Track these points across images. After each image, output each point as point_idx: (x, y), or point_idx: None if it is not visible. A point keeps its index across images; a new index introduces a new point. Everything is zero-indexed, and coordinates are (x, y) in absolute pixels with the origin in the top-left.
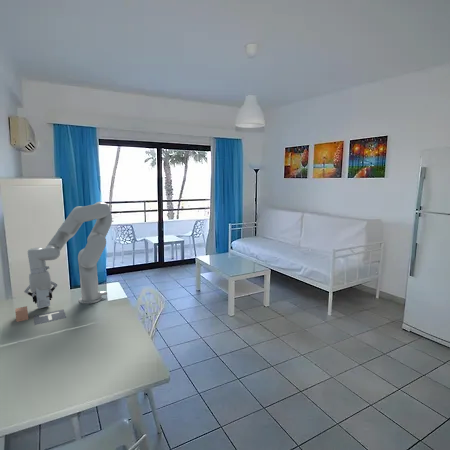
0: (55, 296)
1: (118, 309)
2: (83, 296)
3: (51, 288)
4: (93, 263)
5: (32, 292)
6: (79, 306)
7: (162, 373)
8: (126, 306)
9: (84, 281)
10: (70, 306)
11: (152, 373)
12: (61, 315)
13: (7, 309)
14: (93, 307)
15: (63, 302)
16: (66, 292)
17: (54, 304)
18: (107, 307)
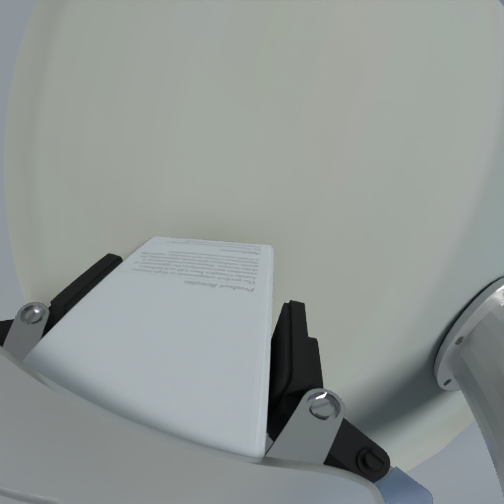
0: (408, 5)
1: (422, 450)
2: (466, 388)
3: (337, 460)
4: None
5: (12, 351)
6: (402, 384)
7: None
8: (447, 440)
9: (500, 481)
10: (380, 358)
11: None
12: (266, 437)
13: (22, 69)
14: (414, 418)
15: (407, 238)
16: (486, 20)
17: (333, 222)
18: (428, 433)
